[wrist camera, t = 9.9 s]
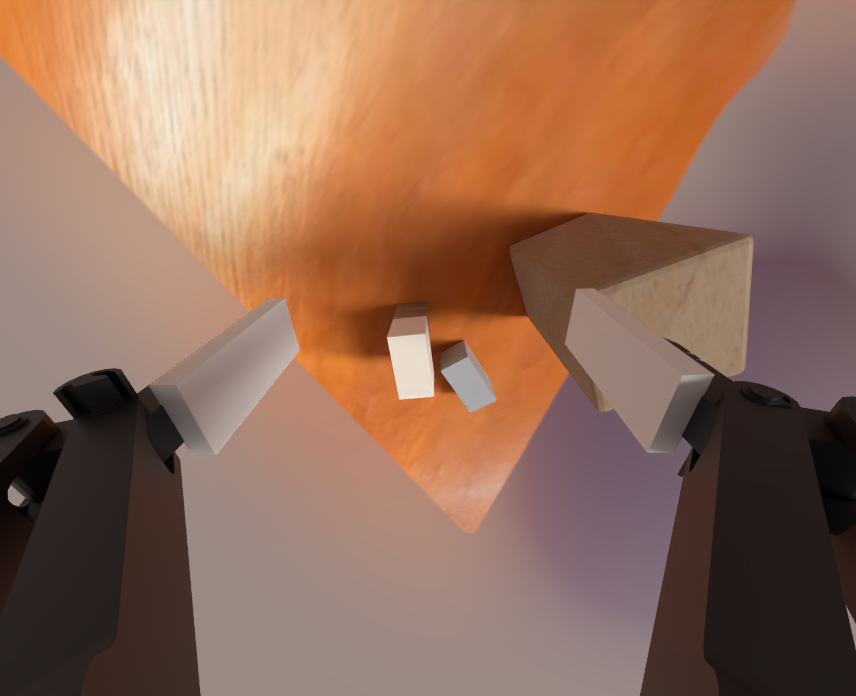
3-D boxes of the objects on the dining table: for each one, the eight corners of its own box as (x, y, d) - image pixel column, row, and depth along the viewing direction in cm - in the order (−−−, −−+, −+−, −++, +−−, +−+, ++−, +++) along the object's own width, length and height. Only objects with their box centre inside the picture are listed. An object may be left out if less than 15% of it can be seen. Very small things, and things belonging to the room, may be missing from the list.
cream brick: (392, 319, 36) (386, 337, 31) (426, 315, 35) (425, 333, 31) (403, 376, 39) (399, 399, 35) (434, 373, 39) (433, 396, 35)
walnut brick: (397, 303, 40) (392, 317, 36) (427, 302, 40) (426, 316, 35) (402, 356, 44) (399, 374, 39) (430, 355, 44) (430, 373, 39)
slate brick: (439, 352, 43) (440, 371, 39) (464, 339, 42) (467, 356, 38) (467, 391, 46) (470, 412, 42) (490, 380, 45) (496, 400, 41)
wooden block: (527, 317, 40) (598, 416, 23) (506, 245, 36) (574, 298, 19) (604, 289, 38) (749, 374, 21) (591, 210, 34) (759, 231, 17)
